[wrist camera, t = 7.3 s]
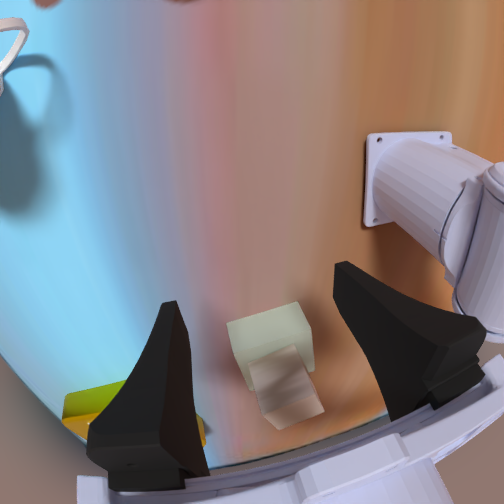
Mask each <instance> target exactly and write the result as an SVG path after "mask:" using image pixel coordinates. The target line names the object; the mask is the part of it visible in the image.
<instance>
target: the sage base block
mask: <svg viewBox="0 0 504 504" xmlns="http://www.w3.org/2000/svg"><path fill="white" fill-rule="evenodd" d="M226 324H227V329H228V333H229V338H230V342H231V346H232V351H233V354H234V356H235V359H236V361H237V363H238V365H239V368H240V370H241V372H242V374H243V377H244V379H245V381H246V383H247V385H248V388H249V390H250V391H253V390H255V389H254V385H253V381H252V378H251V374H250V370H249V367H248V363H249V362H252V361H254V360H256V359H259V358H261V357H264V356H266V355H268V354H271V353H273V352H275V351H278V350H280V349H282V348H284V347H287V346H289V345H291V344H293V343H294V345H295V347H296V348H297V350H298V352H299V354H300V356H301V358H302V360H303V362H304V364H305V366H306V368H307V370H308V373H309V372H312V371H315V363H314V352H313V342H312V332H311V327H310V325H309V323H308V321H307V319H306V317H305V315H304V313H303V311H302V309H301V307H300V305H299V303H298V301H296V302H293V303H290V304H287V305H284V306H281V307H278V308H274V309H271V310H268V311H265V312H262V313H258V314H255V315H252V316H248V317H245V318H242V319H238V320H235V321H232V322H228V323H226Z"/></svg>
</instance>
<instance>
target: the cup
mask: <svg viewBox="0 0 504 504" xmlns="http://www.w3.org/2000/svg"><path fill="white" fill-rule="evenodd" d="M9 30H20V32H19V35H18V37H17V39H16V40H15V42H14V44H13V46H12V48H11V49H10V51H9V52H8V54H7V55H6V56H5V58H4V59H3V60H2V61H1V62H0V96H1V94H2V92H3V90H4V87H3V72H4V71H5V70H6V69H7V68H8V67H9V66H10V65H11V64H12V62H13V61H14V60H15V58H16V57H17V55H18V54H19V52H20V51H21V49H22V47H23V46H24V44H25V42H26V41H27V38H28V35H29V29H28V27H27V25H26V23H25V22H24V20H23V19H22V18H14V17H12V18H4V19H0V32H3V31H9Z"/></svg>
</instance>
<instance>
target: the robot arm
mask: <svg viewBox="0 0 504 504" xmlns="http://www.w3.org/2000/svg"><path fill="white" fill-rule="evenodd" d="M440 136H441V138H440ZM378 138H380V140H379V142H377V139H378ZM374 219H375V220H374ZM373 220H374V221H373ZM363 222H364V224H365V225H366V226H367V227H371V226H376V225H380V224H385V223H389V222H396V223H397V224H398V225H399V226H400V227H401V228H403V229H404V230H405V231H406V232H407V233H408V234H409V235H411V236H412V237H413V238H414V239H415V240H416V241H417V242H419V243H420V244H421V245H422V246H423V247H424V248H425V249H426V250H427V251H428V252H430V253H431V254H432V255H433V256H434V257H435V258H436V259H437V260H438V261H439V262H440V263H441V264H442V265H443V266H444V267H445V277H444V278H445V279H446V280H447V281H448V282H449V283H450V284H451V285H452V287H453V288H454V291H453V293H452V306H453V309H454V312H455V313H453V312H449V311H445V310H442V309H439V308H436V307H433V306H430V305H427V304H424V303H422V302H419V301H417V300H415V299H412V298H410V297H408V296H406V295H404V294H402V293H400V292H398V291H396V290H394V289H392V288H391V287H389V286H387V285H385V284H384V283H382V282H380V281H379V280H377V279H375V278H374V277H372V276H370V275H369V274H367V273H366V272H364V271H363V270H361V269H359V268H358V267H356V266H355V265H353V264H351V263H350V262H348V261H344V262H340V263H336V264H335V270H334V287H333V299H334V301H335V303H336V306H337V308H338V310H339V312H340V314H341V316H342V318H343V319H344V321H345V323H346V324H347V326H348V327H349V329H350V331H351V332H352V334H353V335H354V337H355V339H356V340H357V342H358V343H359V345H360V347H361V348H362V350H363V352H364V354H365V355H366V357H367V359H368V362H369V364H370V366H371V368H372V370H373V373H374V375H375V378H376V380H377V382H378V385H379V387H380V390H381V393H382V396H383V398H384V401H385V404H386V407H387V410H388V413H389V417H390V420H391V423H389V424H387V425H384V426H382V427H380V428H377V429H375V430H373V431H370V432H368V433H366V434H363V435H361V436H358V437H356V438H353V439H351V440H348V441H345V442H342V443H340V444H337V445H334V446H331V447H328V448H326V449H323V450H319V451H316V452H313V453H310V454H307V455H303V456H300V457H296V458H293V459H289V460H285V461H282V462H278V463H274V464H270V465H266V466H261V467H257V468H253V469H248V470H242V471H237V472H232V473H226V474H220V475H214V476H210V473H209V469H208V465H207V462H206V458H205V454H204V450H203V446H202V441H201V437H200V432H199V427H198V422H197V417H196V412H195V406H194V398H193V384H192V362H191V348H190V342H189V335H188V331H187V328H186V326H185V323H184V320H183V318H182V315H181V312H180V310H179V307H178V304H177V302H176V300H175V301H170V302H165V303H162V305H161V307H160V310H159V313H158V316H157V319H156V321H155V324H154V327H153V329H152V331H151V334H150V336H149V339H148V341H147V343H146V345H145V347H144V350H143V352H142V354H141V356H140V358H139V360H138V362H137V363H136V365H135V367H134V369H133V370H132V372H131V374H130V375H129V377H128V378H127V380H126V381H125V383H124V385H123V386H122V387H121V389H120V390H119V392H118V393H117V394H116V395H115V397H114V398H113V399H112V400H111V402H110V403H109V404H108V405H107V406H106V408H105V409H104V410H103V411H102V412H101V413H100V414H99V415H98V416H97V417H96V418H95V419H94V420H93V421H92V422H91V423H90V424H89V429H88V434H87V452H86V454H87V456H88V458H89V459H90V460H91V461H93V462H94V463H95V464H97V465H99V466H100V467H102V468H103V469H105V470H107V471H108V478H105V477H100V476H82V475H79V476H77V504H454V503H453V501H452V499H451V497H450V495H449V493H448V491H447V489H446V487H445V485H444V483H443V481H442V479H441V477H440V475H439V473H438V471H437V469H436V467H435V465H434V464H435V463H437V462H438V461H440V460H442V459H443V458H445V457H446V456H447V455H449V454H451V453H452V452H454V451H455V450H456V449H458V448H459V447H461V446H462V445H463V444H465V443H466V442H468V441H469V440H470V439H472V438H473V437H474V436H476V435H477V434H478V433H480V432H481V431H482V430H483V429H485V428H486V427H487V426H489V425H490V424H491V423H492V422H494V421H495V420H496V419H497V418H499V417H500V416H501V415H502V414H503V413H504V359H503V357H502V356H501V355H500V354H497V355H496V356H494V357H493V358H492V359H490V360H489V361H487V362H486V363H485V364H484V365H483V366H482V367H480V366H479V365H478V362H479V358H478V357H477V355H476V354H477V352H478V350H479V349H480V347H481V345H482V344H483V342H484V340H486V341H489V342H494V343H504V162H498V163H496V164H493V163H491V162H489V161H487V160H485V159H483V158H481V157H479V156H477V155H475V154H473V153H471V152H469V151H467V150H464V149H462V148H460V147H458V146H455V145H453V144H452V135H451V133H450V132H447V131H423V132H390V133H372V134H369V135H368V137H367V140H366V184H365V204H364V219H363Z"/></svg>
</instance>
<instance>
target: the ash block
mask: <svg viewBox="0 0 504 504" xmlns="http://www.w3.org/2000/svg"><path fill="white" fill-rule="evenodd" d="M248 367H249V370H250V374H251V378H252V381H253V385H254V389H255V392H256V396H257V399H258V403H259V406H260V410H261V414H262V416H264V417H265V418H266V419H267V420H268V421H269V422H270V423H271V424H272V425H274V426H275V427H276V428H277V429H278V430H281V429H283V428H286V427H289V426H291V425H294V424H296V423H299V422H301V421H304V420H306V419H309V418H311V417H313V416H316V415H318V414H320V413H323V412H325V411H324V408H323V406H322V404H321V401H320V399H319V397H318V394H317V392H316V389H315V387H314V385H313V382H312V380H311V377H310V375H309V373H308V370H307V368H306V366H305V364H304V362H303V360H302V358H301V356H300V354H299V352H298V350H297V348H296V347H295V345H294V343H293V344H291V345H289V346H287V347H284V348H282V349H280V350H278V351H275V352H273V353H271V354H268V355H266V356H264V357H261V358H259V359H256V360H254V361H252V362H249V363H248Z"/></svg>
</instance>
